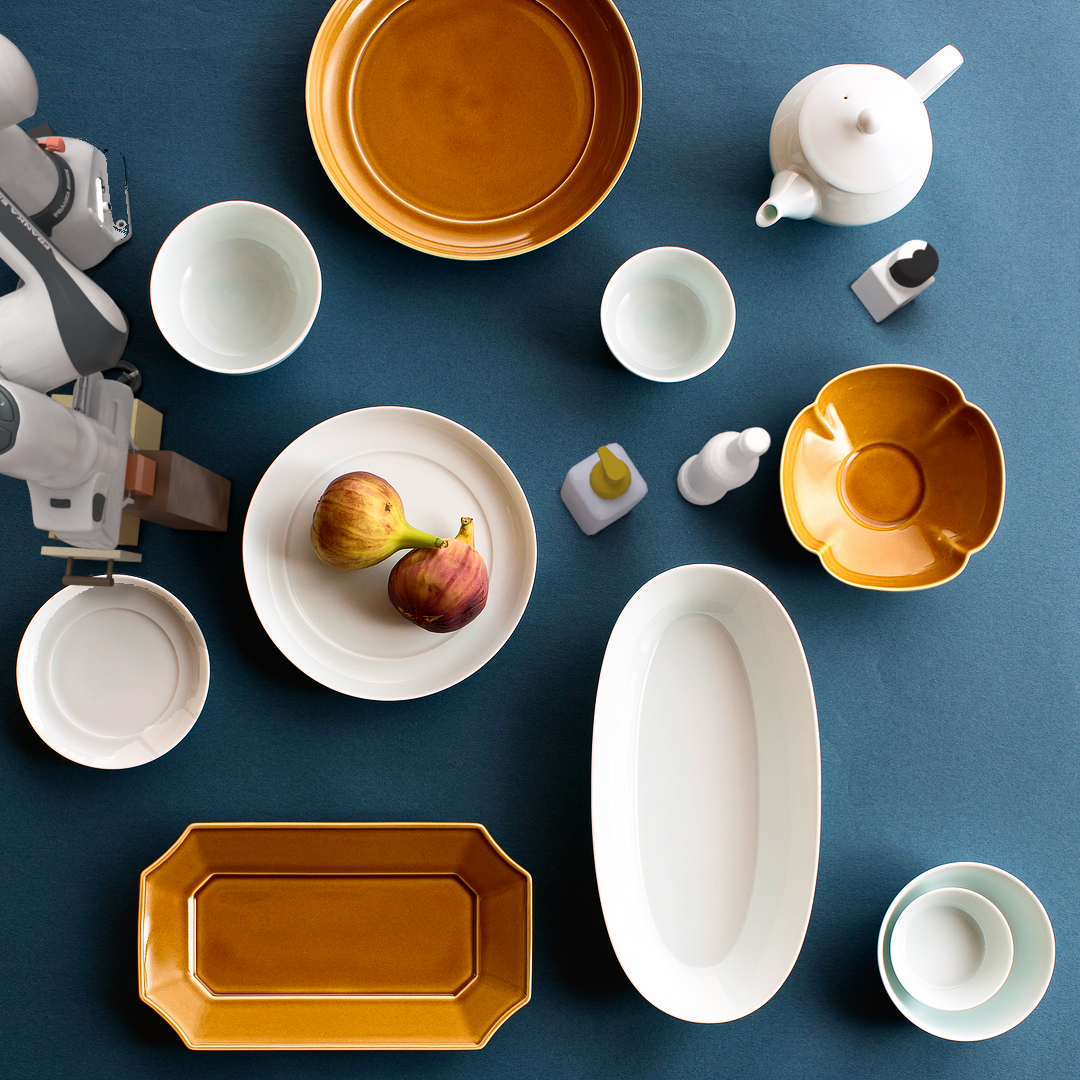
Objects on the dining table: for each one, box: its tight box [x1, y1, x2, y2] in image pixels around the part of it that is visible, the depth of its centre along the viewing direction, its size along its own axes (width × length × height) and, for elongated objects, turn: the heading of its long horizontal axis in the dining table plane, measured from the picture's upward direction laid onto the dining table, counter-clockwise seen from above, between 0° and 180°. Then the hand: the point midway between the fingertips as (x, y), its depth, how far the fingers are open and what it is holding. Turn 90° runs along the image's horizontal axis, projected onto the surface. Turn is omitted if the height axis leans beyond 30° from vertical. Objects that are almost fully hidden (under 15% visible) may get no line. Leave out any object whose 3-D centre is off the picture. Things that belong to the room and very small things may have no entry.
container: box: [850, 239, 940, 323], centre depth 127 cm, size 8×8×13 cm
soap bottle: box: [559, 442, 649, 536], centre depth 115 cm, size 9×9×25 cm
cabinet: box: [51, 393, 164, 450], centre depth 121 cm, size 15×13×9 cm
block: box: [124, 453, 156, 496], centre depth 100 cm, size 4×4×5 cm
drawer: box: [40, 513, 143, 588], centre depth 119 cm, size 18×11×7 cm, turn 177°
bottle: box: [676, 426, 771, 506], centre depth 114 cm, size 8×8×30 cm
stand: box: [122, 449, 232, 533], centre depth 114 cm, size 8×8×22 cm
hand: (130, 475), depth 101 cm, fingers closed on block, 4 cm apart
